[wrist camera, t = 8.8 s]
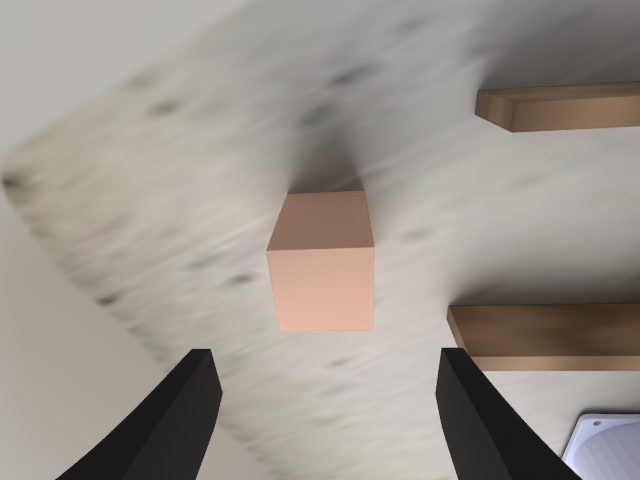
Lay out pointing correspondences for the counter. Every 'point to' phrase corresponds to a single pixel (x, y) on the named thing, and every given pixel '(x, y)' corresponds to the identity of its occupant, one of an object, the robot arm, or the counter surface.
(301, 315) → the terracotta block
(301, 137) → the counter surface
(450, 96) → the counter surface
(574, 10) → the counter surface
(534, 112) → the open-sided box
